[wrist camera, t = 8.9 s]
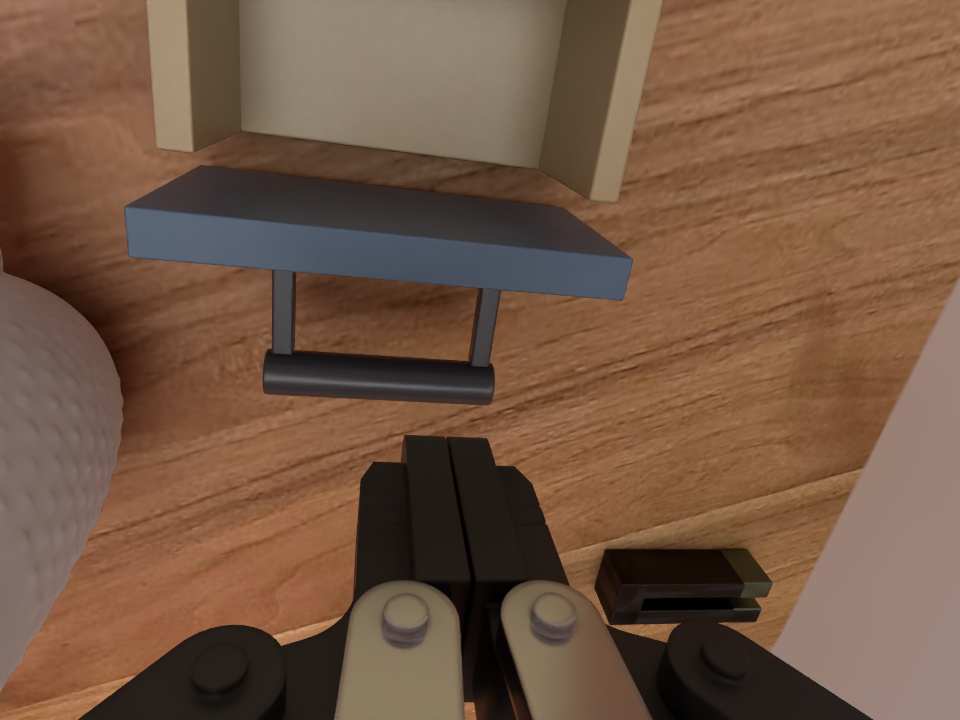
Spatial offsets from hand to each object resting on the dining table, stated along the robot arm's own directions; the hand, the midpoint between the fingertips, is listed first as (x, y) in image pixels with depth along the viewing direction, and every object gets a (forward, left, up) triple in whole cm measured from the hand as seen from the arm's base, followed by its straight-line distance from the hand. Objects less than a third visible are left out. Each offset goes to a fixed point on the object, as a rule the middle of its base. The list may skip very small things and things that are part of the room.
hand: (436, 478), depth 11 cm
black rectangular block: (-15, +15, -14) cm, 25 cm away
